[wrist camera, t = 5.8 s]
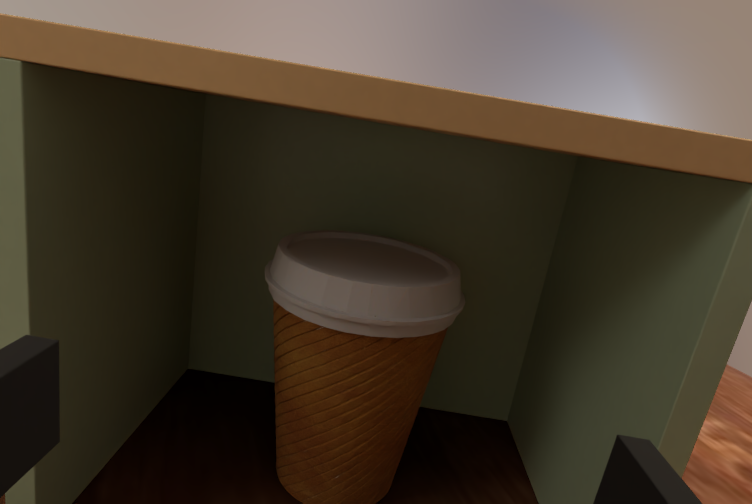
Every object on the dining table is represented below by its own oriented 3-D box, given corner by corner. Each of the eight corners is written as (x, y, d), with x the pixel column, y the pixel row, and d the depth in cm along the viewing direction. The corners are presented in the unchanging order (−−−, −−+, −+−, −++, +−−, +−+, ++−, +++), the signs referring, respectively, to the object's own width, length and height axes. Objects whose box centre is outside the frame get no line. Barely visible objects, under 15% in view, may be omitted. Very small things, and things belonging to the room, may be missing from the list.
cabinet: (618, 640, 19) (812, 149, 14) (6, 540, 18) (-22, 9, 14) (519, 413, 33) (595, 138, 28) (178, 357, 33) (195, 71, 28)
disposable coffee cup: (455, 522, 23) (514, 293, 20) (257, 563, 19) (290, 289, 16) (383, 407, 31) (415, 234, 28) (234, 420, 28) (254, 222, 25)
